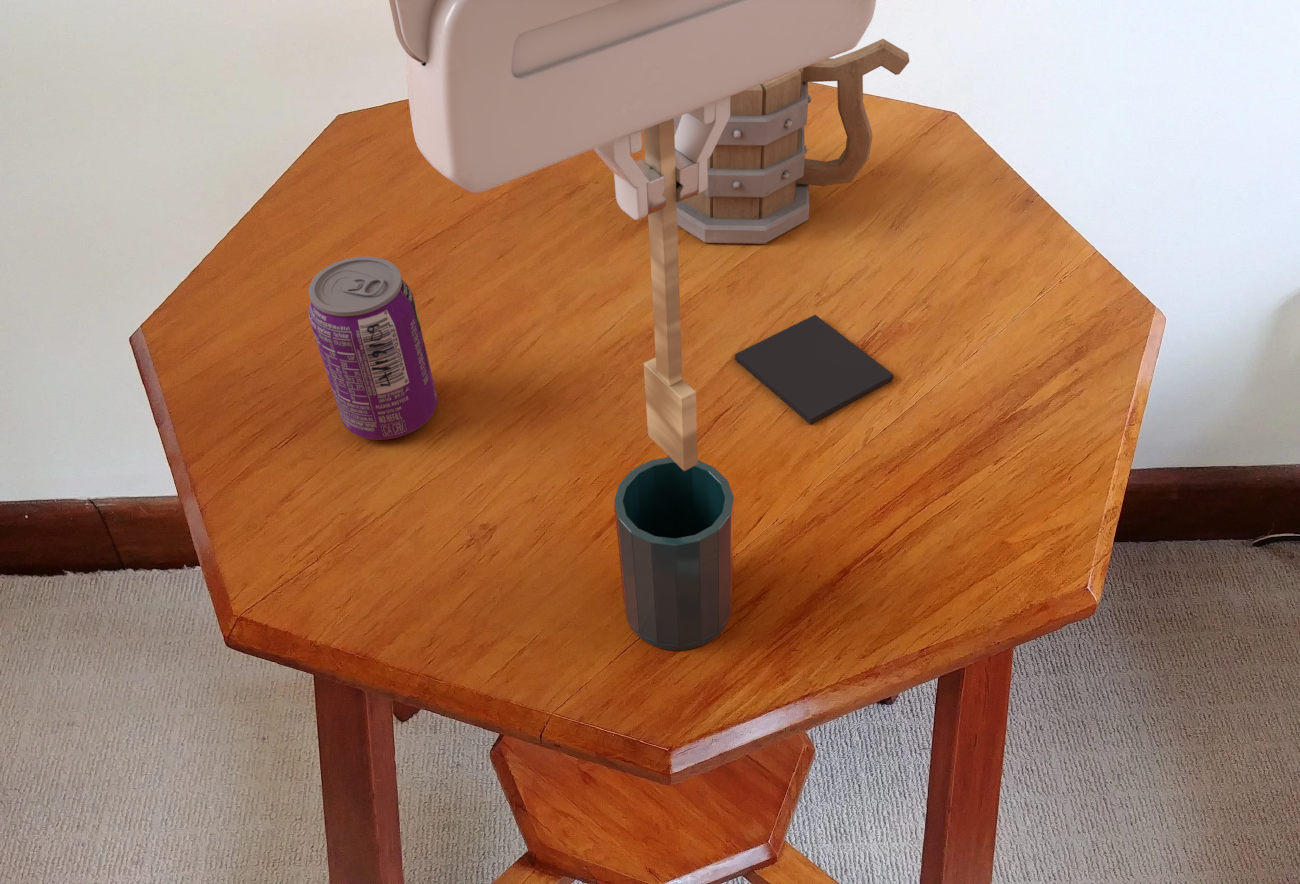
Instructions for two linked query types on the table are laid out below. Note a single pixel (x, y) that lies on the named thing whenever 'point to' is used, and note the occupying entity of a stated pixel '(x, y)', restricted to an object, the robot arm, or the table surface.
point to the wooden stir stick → (667, 317)
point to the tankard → (781, 151)
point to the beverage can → (372, 347)
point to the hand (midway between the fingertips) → (662, 200)
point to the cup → (675, 552)
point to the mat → (813, 368)
